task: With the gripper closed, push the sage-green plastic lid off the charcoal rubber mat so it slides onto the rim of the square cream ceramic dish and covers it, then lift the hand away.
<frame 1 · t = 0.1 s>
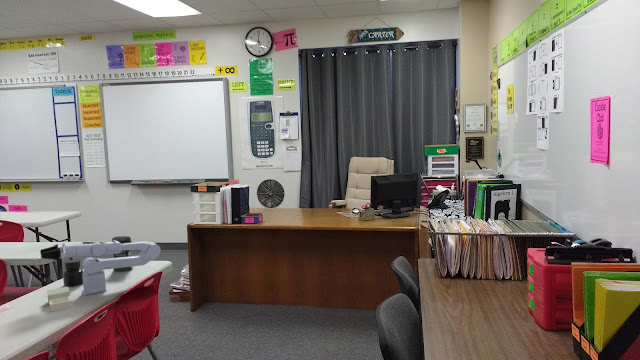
hand: (40, 253, 197), 22 cm above the table, tool horizontal, fingers open, 7 cm apart
coffee jar: (123, 269, 244), on the table
dish: (60, 306, 191), on the table
mat: (59, 301, 198), on the table
ink bottle: (74, 284, 221), on the table
lid: (58, 295, 197), point 3 cm above the table, touching dish, mat
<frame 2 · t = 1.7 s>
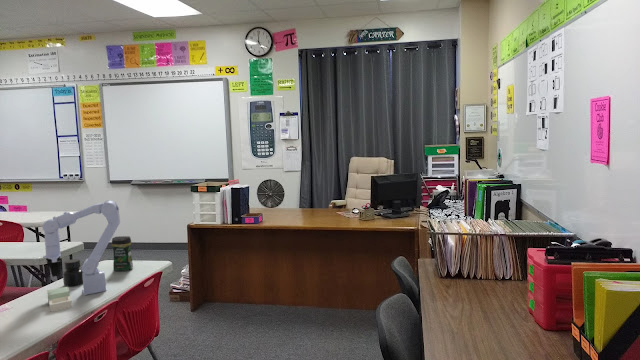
hand: (54, 274, 204), 10 cm above the table, tool pointing down, fingers open, 6 cm apart
nothing on the table moved.
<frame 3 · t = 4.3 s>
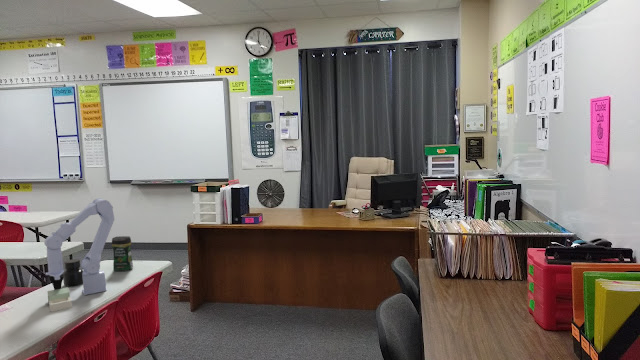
hand: (57, 291, 200), 4 cm above the table, tool pointing down, fingers closed
lid: (58, 296, 196), point 3 cm above the table
everything else where it was.
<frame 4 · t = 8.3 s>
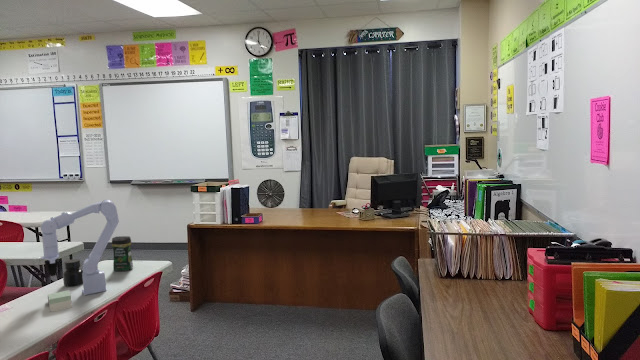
hand: (53, 275, 202), 10 cm above the table, tool pointing down, fingers closed
lid: (59, 299, 192), point 3 cm above the table, touching dish, mat
everything else where it was.
at the end: lid 1.2 cm off-centre on the dish, point 3.0 cm above the dish's base; lid tilted 0° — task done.
